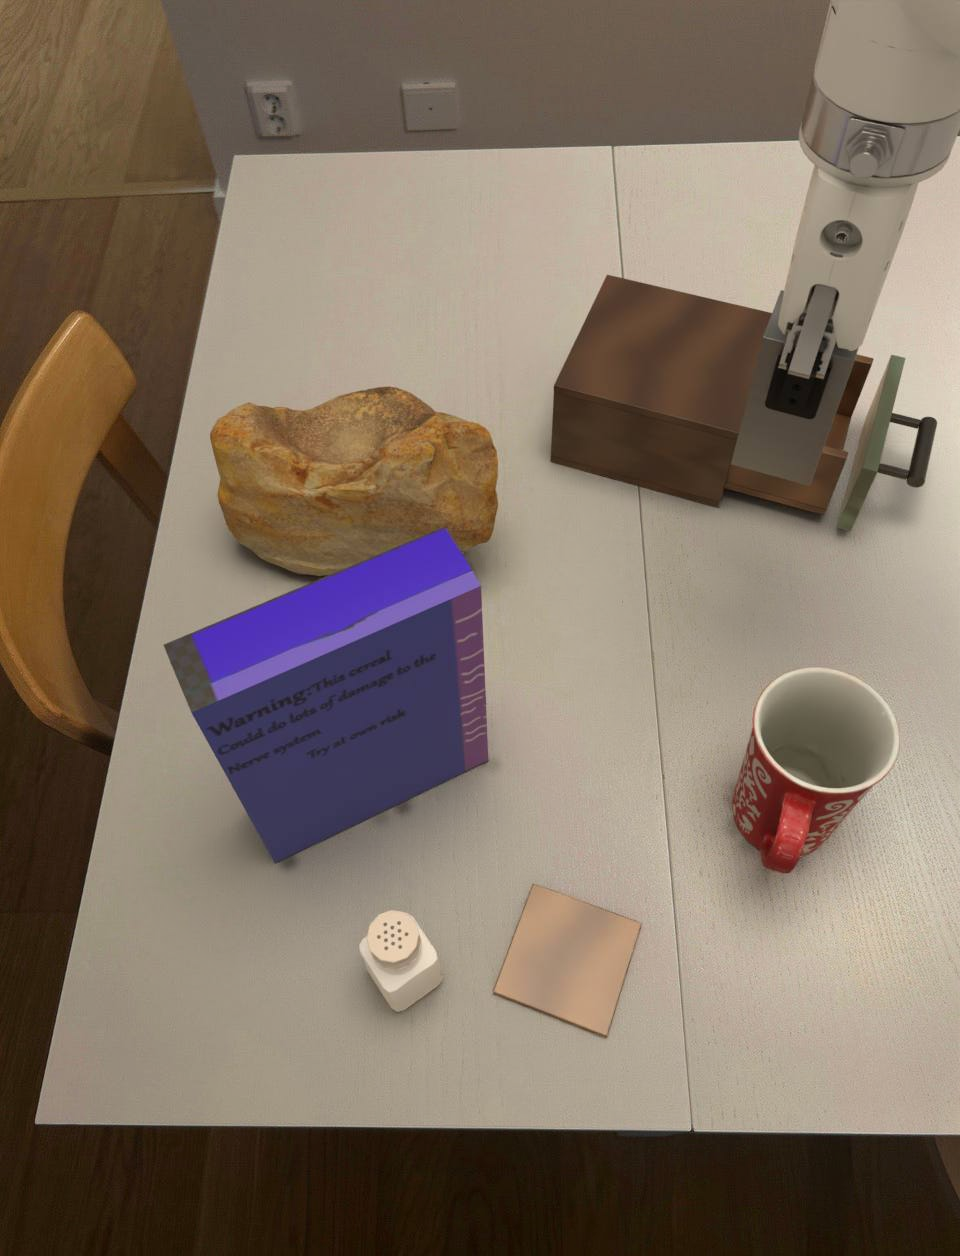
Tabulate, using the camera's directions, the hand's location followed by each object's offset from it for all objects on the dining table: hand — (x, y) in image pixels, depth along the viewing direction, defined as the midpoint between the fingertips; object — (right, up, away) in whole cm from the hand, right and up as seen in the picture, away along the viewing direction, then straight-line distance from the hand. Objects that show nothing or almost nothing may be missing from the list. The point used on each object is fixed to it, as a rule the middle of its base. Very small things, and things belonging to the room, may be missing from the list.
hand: (800, 380), depth 68 cm
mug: (+1, -31, +9) cm, 32 cm away
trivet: (-14, -39, +5) cm, 41 cm away
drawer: (+9, -1, +27) cm, 28 cm away
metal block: (0, -4, +6) cm, 7 cm away
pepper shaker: (-26, -40, +5) cm, 47 cm away
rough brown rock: (-29, -6, +26) cm, 40 cm away
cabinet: (-4, +3, +30) cm, 31 cm away
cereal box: (-29, -28, +12) cm, 42 cm away
